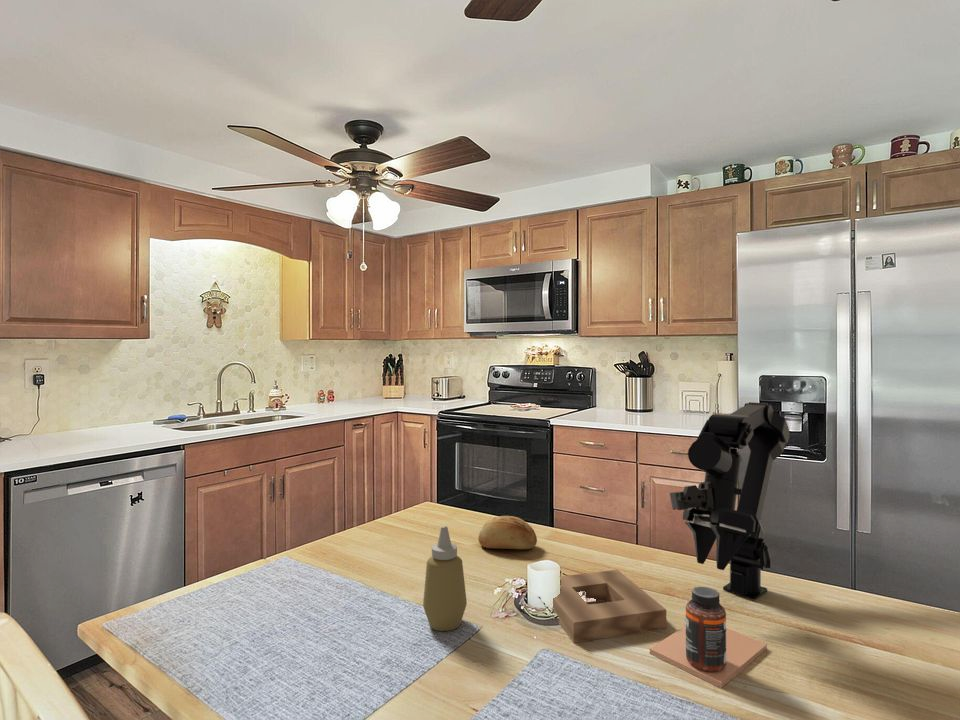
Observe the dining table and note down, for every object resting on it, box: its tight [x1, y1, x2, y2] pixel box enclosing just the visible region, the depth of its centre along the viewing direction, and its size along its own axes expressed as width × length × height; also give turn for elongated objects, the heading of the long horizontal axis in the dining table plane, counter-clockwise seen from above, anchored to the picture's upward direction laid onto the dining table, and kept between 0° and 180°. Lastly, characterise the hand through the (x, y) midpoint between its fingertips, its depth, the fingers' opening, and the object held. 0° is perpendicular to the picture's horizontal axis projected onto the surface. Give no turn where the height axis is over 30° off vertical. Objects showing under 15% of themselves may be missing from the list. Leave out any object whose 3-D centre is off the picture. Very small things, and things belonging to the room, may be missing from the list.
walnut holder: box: [553, 569, 667, 644], centre depth 104 cm, size 18×18×4 cm
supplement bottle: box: [685, 586, 727, 672], centre depth 85 cm, size 6×6×11 cm
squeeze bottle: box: [422, 525, 468, 632], centre depth 99 cm, size 8×8×18 cm
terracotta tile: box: [649, 625, 768, 689], centre depth 90 cm, size 16×12×1 cm
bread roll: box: [477, 515, 538, 550], centre depth 137 cm, size 10×15×8 cm, turn 81°
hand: (709, 566), depth 97 cm, fingers open, 9 cm apart
